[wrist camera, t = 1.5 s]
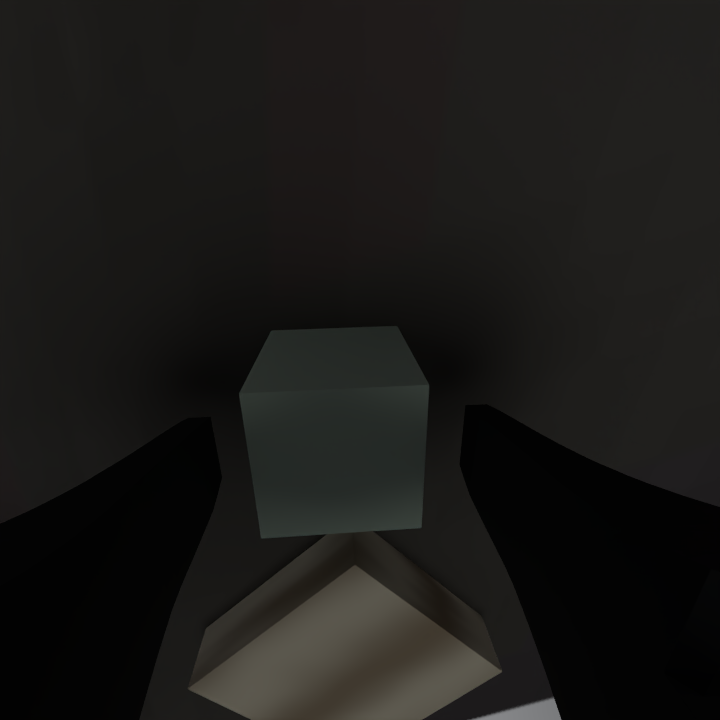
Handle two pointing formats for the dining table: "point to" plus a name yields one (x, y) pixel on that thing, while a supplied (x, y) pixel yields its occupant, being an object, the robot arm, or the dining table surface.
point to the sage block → (336, 432)
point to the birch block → (345, 640)
